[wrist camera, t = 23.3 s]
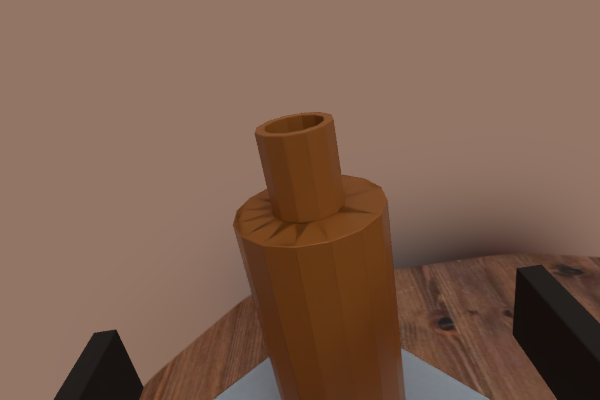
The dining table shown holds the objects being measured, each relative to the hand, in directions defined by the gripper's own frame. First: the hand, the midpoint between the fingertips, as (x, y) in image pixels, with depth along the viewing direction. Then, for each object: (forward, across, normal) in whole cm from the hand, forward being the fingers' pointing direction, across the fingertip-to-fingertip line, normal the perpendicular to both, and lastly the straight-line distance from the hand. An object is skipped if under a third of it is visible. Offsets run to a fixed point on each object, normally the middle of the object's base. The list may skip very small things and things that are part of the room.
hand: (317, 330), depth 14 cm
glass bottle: (+7, 0, -13) cm, 15 cm away
